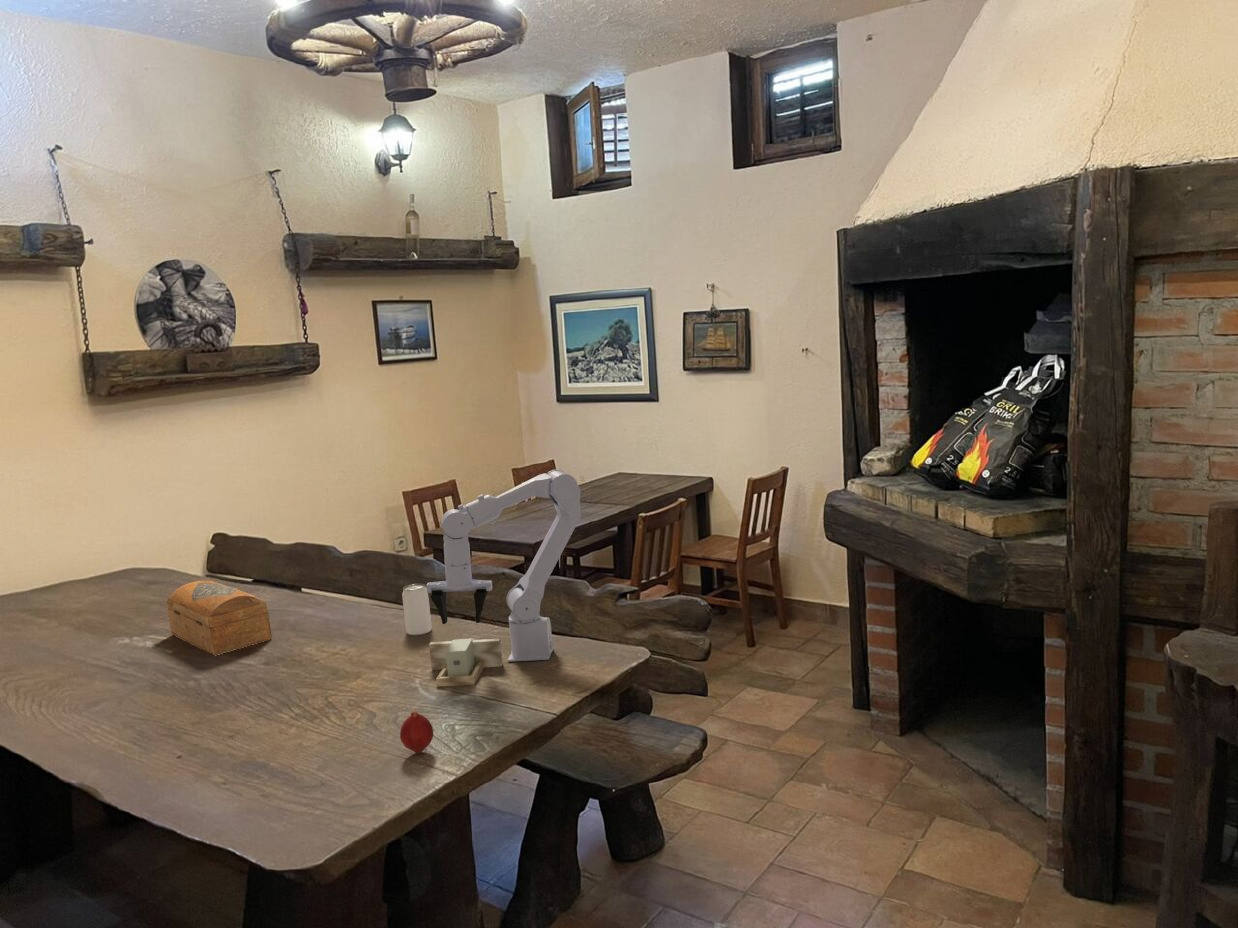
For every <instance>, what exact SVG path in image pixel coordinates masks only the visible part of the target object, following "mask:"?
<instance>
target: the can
mask: <svg viewBox="0 0 1238 928" xmlns="http://www.w3.org/2000/svg"><path fill="white" fill-rule="evenodd" d="M402 588H403V592H402V597H401V598H402V606H403V615H404V625H405V631H406V634H407V635H408V636H409V635H410V636H421V635H425V634H426V635H427V634H428V633H430V632H431V630H432V627H433V626H432V617H431V608H430V599H429V593H427V589H426V584H424V583H413V584H409V585H405V586H404V587H402Z"/></svg>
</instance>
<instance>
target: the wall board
mask: <svg viewBox="0 0 1238 928" xmlns="http://www.w3.org/2000/svg"><path fill="white" fill-rule="evenodd" d="M472 641H473V651H474V661H475V669H474V671H473V672H472V674H471V676H452V677H448V671H447V661H446V650H447V649H448V647H449V645H450V644H451V642H452V640H449V641H431V642H430V643H429V644H428V648H429V657H430V665H431V666H430V667H431V670H432V671H436V670H437V671H438V670H441V671H440V672H439V674H438V675H437V677H436V679H435V681H436V687H453V686H454V687H456V686H474V685H475V684H476V682H477V681H478V679H479V677H480V675H481V673H482V672H483V670H484V668H498V667H502V666H503V654H502V644H501V638H492V639H491V638H490V639H489V638H487V639H486V638H485V639H484V638H483V639H472Z"/></svg>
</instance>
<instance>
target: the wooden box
mask: <svg viewBox="0 0 1238 928" xmlns="http://www.w3.org/2000/svg"><path fill="white" fill-rule="evenodd" d="M166 601H167V614H168V620H169V621H168V622H169V629H170V632H171V635H172V634H173V635H175V636H177V637H179V638H181V639H183V640H185V641H187V642H189V643H191V644H193V645H194V646H196V647H198V648H197V649H199V648H200V649H199V650H201V649H203V650H205V651H207V652H209V653H211V654H214V655H218V654H221V653H223V652H227V651H231V650H233V649H239V648H242V647H246V646H249V645H252V644H256V643H260V642H263V641H267V640H270V639H272V637H273V636H272V630H271V622H270V616H269V614H270V613H269V612H268V607H267V603H266V602H265V601H264V600H262V599H261V598H259V597H257V595H253V594H250V593H248V592H245V591H244V590H240V589H239V588H236V587H232V586H229V585H226V584H222V583H220V582H216V581H213V580H208V579H205V580H203V579H202V580H196V581H192V582H189V583H186V584H183V585H181V586H180V587H178V588H176V589H175V590H174V591H173V592H172V593H171V594H170V595H169V597H168V598H167V600H166ZM270 641H271V640H270ZM267 642H268V641H267ZM263 643H264V642H263ZM260 644H261V643H260ZM256 645H257V644H256ZM194 646H193V647H194ZM196 647H195V648H196ZM246 648H247V647H246ZM203 650H202V651H203ZM205 651H204V652H205ZM207 652H206V653H207ZM209 653H208V654H209ZM211 654H210V655H211Z"/></svg>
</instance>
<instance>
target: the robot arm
mask: <svg viewBox="0 0 1238 928" xmlns="http://www.w3.org/2000/svg"><path fill="white" fill-rule="evenodd" d="M581 493H582V490H581V489H580V486H579V484H578V482H577V480H576V479H575V478H574V476H572V475H570V474H567V473H565V471H563V470H562V469H552V470H550V471H548V472H547V473H545V472H544V473H540V474H538V475H536V476H535V477H532V478H531V479H528V480H526V481H525V482H523V483H520V484H518V485H517V486H516V485H515V487H512V488H511V489H509V490H507V491H505V492H503V493H501V494H499V495H496V496H493V495H491V494H486V495H484V494H482V493H481V494H479V495H477V499H475V500H472V501H471V502H469V503H466V504H464V505H463V504H459V505H457V508H458V509H453V508H452V509H449V510H447V511H446V512H445V513H444V514H443V515H442V516H441V521H440V523H439V524H440V528H441V529H442V530H443V531H444V532H443V555H444V556H443V557H444V569H445V580H442V581H432V582H427V584H425V587H426V589H427V593H428V594H431V595H430V599H431V601H432V602H433V603H434V606H435V607H436V610H437V611H438V613H439V616H440V619H441V624H442V625H446V624H447V623H448V609H447V593H448V592H469V591H470V592H471V591H473V592H474V591H475V592H474V593H473V599H474V600H473V601H474V605H475V623H476V624H480V623H481V621H482V612H483V609H484V608H483V607H484V603H485V600H486V598H487V596H488V593H489V592H491V591H492V590H493V580H487V579H486V580H484V579H483V580H482V579H473V576H472V562H471V549H470V547H471V546H470V542H469V532H470V530H475V529H476V528H479V527H482V526H483V525H486V524H488V523H489V522H492V521H493V520H494V521H495V520H496V519H498V518H499V517H500V516H501V513H502V511H503V510H504V509H507V508H509V507H512V506H514V505H517V504H519V503H521V502H525V501H527V500H529V499H531V498H534V497H535V498H537V497H538V498H543V499H551V501H552V504H553V506H554V508H555V511H556V515H555V518H554V520H553V522H552V524H551V525H550V527H549V530H548V531H547V533H546V535H545V537H544V539H543V541H542V542H541V545H540V546H539V549H537V552H536V554H535V556H534V558H533V560H532V562H531V563H530V564H529V565H530V566H529V567H528V568H527V569H528V570H527V571H526V572H525V574H524V575H523V576H522V577H520V578H519V579H518V580H519V581H518V582H517V584H516V585H515V586H514V587H512V588H511V589H510V590H509V591H508V592H507V595H506V599H505V600H506V604H507V605H506V606H508V608H509V609H510V610H511V611H510V615H509V616H508V625H509V626H508V627H509V628H508V629H509V636H510V637H509V638H510V649H511V653H510V655H509V657H508V658H507V662H508V663H509V662H510V663H511V662H530V661H531V662H533V661H548V660H550V658H551V655H552V653H553V650H554V645H553V637H552V623H551V619H550V617H549V616H548V617H544V616H541V614H540V611H541V604H542V603H541V602H542V599H543V598H544V595H545V589H546V587H545V586H546V584H547V582H548V580H549V579H550V576H551V574H552V573H553V571H554V568H555V567H556V566H557V563H558V561H559V559H560V558H561V555H562V554H563V551H564V549H565V548H566V546H567V544H568V542H569V540H570V539H571V537H572V535H573V532H574V531H575V529H576V527H577V525H578V523H579V522H580V519H581V518H582V517H581V515H582V513H581V510H582V509H581V495H582V494H581Z"/></svg>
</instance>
